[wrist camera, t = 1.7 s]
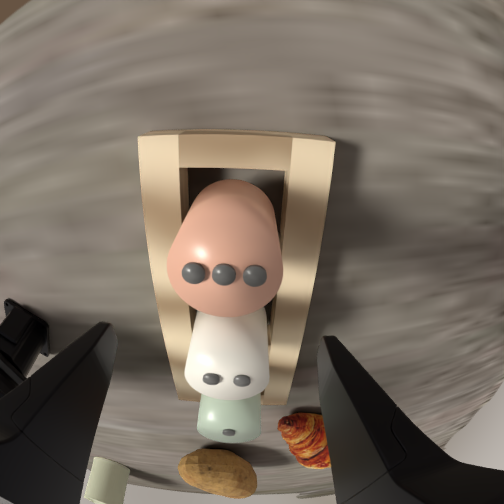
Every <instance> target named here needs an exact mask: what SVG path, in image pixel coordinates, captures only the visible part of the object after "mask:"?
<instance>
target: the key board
mask: <svg viewBox="0 0 504 504" xmlns="http://www.w3.org/2000/svg"><path fill="white" fill-rule="evenodd" d="M138 150H139V167H140V180H141V192H142V203H143V212H144V221H145V230H146V238H147V245H148V252H149V259H150V266H151V272H152V278H153V284H154V290H155V296H156V301H157V307H158V312H159V317H160V322H161V327H162V332H163V337H164V341H165V346H166V350H167V354H168V359H169V363H170V367H171V371H172V375H173V379H174V383H175V387H176V391H177V394H178V398H179V400H186V401H196V402H200V400H201V393H199V392H198V391H196V390H195V389H194V388H192V387H191V386H190V385H189V383H188V382H187V380H186V378H185V373H184V372H185V366H186V361H187V356H188V351H189V347H190V342H191V337H192V332H193V328H194V323H195V319H196V309H195V308H193V307H191V306H190V305H188V304H187V303H186V302H185V301H183V300H182V299H181V298H180V297H179V295H178V294H177V293H176V292H175V290H174V289H173V287H172V285H171V283H170V280H169V278H168V273H167V257H168V253H169V250H170V248H171V246H172V244H173V242H174V240H175V238H176V236H177V234H178V232H179V229H180V227H181V225H182V223H183V221H184V219H185V217H186V215H187V213H188V212H189V192H188V167H190V168H243V169H265V170H283V171H285V176H284V188H283V199H282V211H281V222H280V232H279V243H280V249H281V256H282V262H283V279H282V283H281V286H280V288H279V290H278V292H277V293H276V295H275V296H274V297H273V301H272V310H271V319H270V325H267V335H268V357H269V383H268V385H267V387H266V388H265V389H264V390H263V391H262V392H261V405H286V403H287V400H288V396H289V392H290V388H291V384H292V380H293V376H294V372H295V368H296V364H297V360H298V356H299V351H300V347H301V343H302V338H303V334H304V329H305V325H306V320H307V315H308V311H309V306H310V301H311V296H312V291H313V286H314V281H315V275H316V270H317V265H318V259H319V253H320V248H321V242H322V236H323V230H324V224H325V217H326V211H327V204H328V197H329V190H330V183H331V175H332V168H333V160H334V151H335V141H333V140H331V139H330V138H328V137H326V136H321V135H311V134H301V133H289V132H275V131H257V130H227V129H190V130H160V131H150V132H147V133H145V134H143V135H140V136H138Z"/></svg>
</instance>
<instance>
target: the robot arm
mask: <svg viewBox="0 0 504 504" xmlns="http://www.w3.org/2000/svg"><path fill="white" fill-rule="evenodd" d="M4 306H5V313H6V318H5V319H4V320H3V322H2V323H1V324H0V504H80V498H81V493H82V489H83V482H84V478H85V474H86V469H87V465H88V461H89V456H90V452H91V448H92V444H93V440H94V436H95V433H96V429H97V425H98V422H99V418H100V415H101V411H102V408H103V404H104V401H105V398H106V394H107V391H108V388H109V384H110V380H111V375H112V370H113V365H114V361H115V356H116V351H117V347H118V340H117V337H116V334H115V331H114V328H113V325H112V324H111V323H108V322H99V323H98V324H96V325H95V326H94V327H92V328H91V329H90V330H89V331H87V332H86V333H85V334H83V335H82V336H81V337H79V338H78V339H77V340H75V341H74V342H73V343H72V344H70V345H69V346H68V347H66V348H65V349H64V350H63V351H61V352H60V353H59V354H57V355H56V356H55V357H54V358H52V359H51V360H50V361H49V362H47V363H46V364H45V365H44V366H42V367H41V368H40V369H39V370H37V371H36V372H35V373H34V374H32V375H31V377H28V378H26V376H27V375H28V373H29V371H30V369H31V367H32V366H33V364H34V362H35V360H36V359H37V357H38V355H39V353H41V354H43V355H44V356H46V357H48V356H49V354H50V351H49V326H48V324H47V323H46V322H44V321H42V320H41V319H39V318H37V317H36V316H34V315H32V314H31V313H29V312H27V311H26V310H24V309H22V308H21V307H19V306H18V305H16V304H14V303H13V302H11V301H10V300H8V299H6V300H5V301H4ZM317 367H318V383H319V398H320V405H321V410H322V416H323V421H324V427H325V433H326V439H327V444H328V450H329V457H330V463H331V469H332V475H333V482H334V488H335V495H336V501H337V504H504V471H503V470H497V469H491V468H485V467H480V466H475V465H470V464H466V463H462V462H459V461H457V460H455V459H453V458H452V457H450V456H449V455H448V454H447V453H445V452H444V451H443V450H442V449H441V448H440V447H439V446H438V445H436V444H435V443H434V442H433V441H432V440H431V439H430V438H429V437H427V436H426V435H425V434H424V433H423V432H422V431H421V430H420V429H419V428H418V427H417V426H416V425H415V424H414V423H413V422H412V421H411V420H410V419H409V418H408V417H407V416H406V415H405V414H404V413H403V412H402V410H401V409H400V408H399V407H397V405H396V404H395V403H394V401H393V400H392V399H391V398H390V397H389V396H388V395H387V394H386V392H385V391H384V390H383V389H382V388H381V387H380V386H379V385H378V383H377V382H376V381H375V380H374V379H373V378H372V377H371V376H370V374H369V373H368V372H367V371H366V370H365V369H364V368H363V367H362V365H361V364H360V363H359V362H358V361H357V360H356V359H355V358H354V356H353V355H352V354H351V353H350V352H349V351H348V350H347V349H346V347H345V346H344V345H343V344H342V343H341V342H340V341H339V340H338V338H337V337H335V336H323V337H322V338H321V342H320V345H319V349H318V352H317Z"/></svg>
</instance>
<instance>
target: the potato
mask: <svg viewBox="0 0 504 504" xmlns="http://www.w3.org/2000/svg"><path fill="white" fill-rule="evenodd" d="M178 470H179V474H180V475H181V477H182V478H183V479H184V481H185V482H187V483H188V484H190V485H192V486H195V487H197V488H200V489H202V490H204V491H207V492H210V493H213V494H217V495H222V496H225V497H230V498H238V499H239V498H246V497H249V496H251V495H252V494H253V493H254V492H255V490H256V488H257V477H256V474H255V472H254V470H253V468H252V466H251V464H250V463H249V462H247V461H246V460H244V459H242V458H241V457H239V456H238V455H236V454H235V453H233V452H231V451H229V450H223V449H204V448H203V449H198V450H196V451H194V452H192V453H190V454H187V455H186V456H184V457H183V458H182V459H181V461H180V463H179V465H178Z"/></svg>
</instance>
